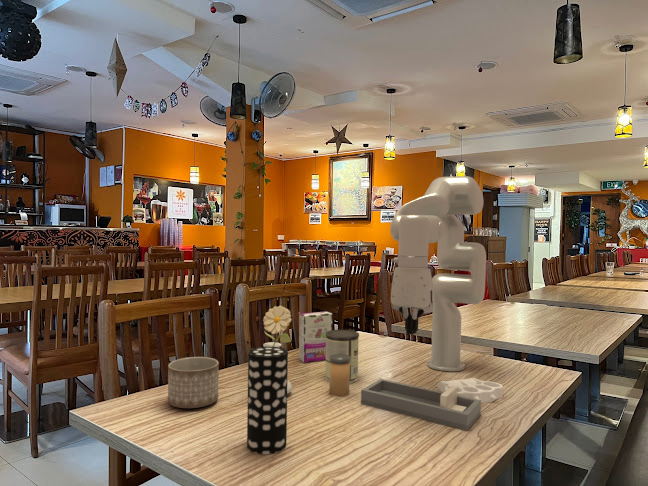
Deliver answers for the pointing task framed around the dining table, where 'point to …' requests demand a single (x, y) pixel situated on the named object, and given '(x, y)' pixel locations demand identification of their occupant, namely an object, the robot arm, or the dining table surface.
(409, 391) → the grey rectangular tray
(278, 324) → the flower in vase
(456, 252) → the robot arm
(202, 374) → the planter
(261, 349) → the white-spotted black cylinder
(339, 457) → the dining table surface
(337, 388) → the jar
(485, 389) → the knuckle duster
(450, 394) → the plate
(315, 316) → the candy bar box
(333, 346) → the coffee can
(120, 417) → the dining table surface
